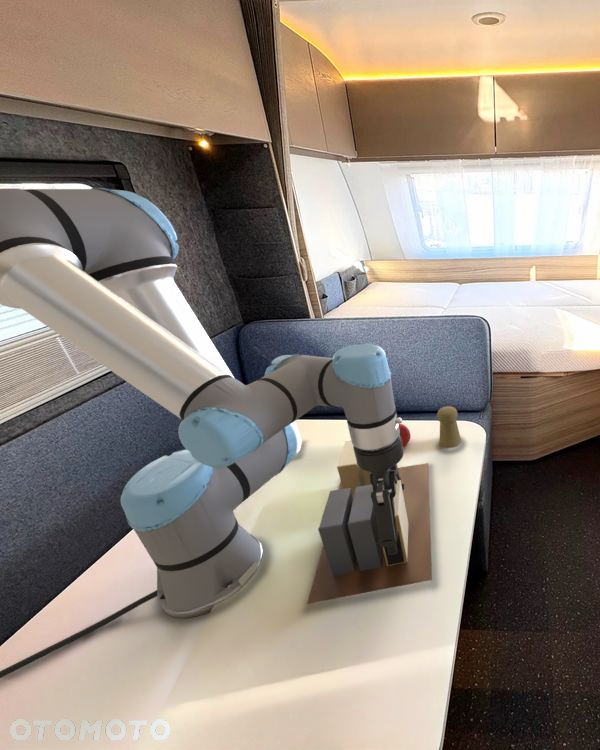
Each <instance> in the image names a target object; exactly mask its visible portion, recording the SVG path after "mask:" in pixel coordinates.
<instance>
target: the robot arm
mask: <svg viewBox="0 0 600 750" xmlns="http://www.w3.org/2000/svg"><path fill="white" fill-rule="evenodd" d="M169 220H170V219H168V218H167V216H166V215H165V214H164V212H162V211H161V210H160V209H159V208H158V207H157V206H156V205H155V204H154V203H153V202H152V201H150V200H148V199H147V198H145V197H143V196H141V195H138V194H137V193H135V192H132V191H128V190H121V189H109V188H105V187H104V188H103V187H91V188H27V189H24V188H0V305H1V306H3V307H7V308H13V309H20V310H22V311H24V312H26V314H29V315H30V316H32V317H33V318H34V319H36V320H37V321H39V322H40V323H42V324H43V325H44V326H45V327H47V328H48V329H50V330H52V331H53V332H54V333H56V334H57V335H58V336H60V337H62V338H63V339H64V340H65V341H68V342H69V343H71V344H72V345H74V346H75V347H76V348H78V349H79V350H81V351H82V352H83V353H85V354H86V355H88V356H89V357H90V358H92V359H94V360H95V361H96V362H98V363H99V364H100V365H102V366H103V367H105V368H107V369H108V370H110V371H111V372H112V373H114V374H115V375H117V376H118V377H119V378H121V379H122V380H124V381H125V382H127V383H128V384H130V386H133V388H135V389H137V390H138V391H140V392H141V393H142V394H144V395H146V396H147V397H148V398H150V399H151V400H152V401H154V402H155V403H157V404H158V405H160V406H161V407H162V408H164V409H166V410H167V411H168V412H170V413H171V414H172V415H174V416H176V417H177V418H179V419H180V420H181V421H180V423H179V426H178V431H177V432H178V439H179V440H180V443H181V445H182V446H183V447H184V449H180V450H177V451H173V453H171V454H170V455H163V456H161V457H159V458H157V459H155V460H153V461H151V462H150V463H148V464H147V465H145V466H143V467H142V468H141V469H140V470H138V471H137V472H136V473H134V475H133V476H132V477H130V479H129V480H128V482H127V483H126V484H125V486H124V488H123V489H122V494H121V496H120V505H121V508H122V510H123V512H124V515H125V517H126V522H127V524H128V526H129V527H130V528H131V529H133V531H134V533H135V534H136V536H137V537H138V539H139V540H140V542H141V544H142V545H143V547H144V549H145V550H146V552H147V553H148V556H149V557H150V558H151V560H152V562H153V563H154V565H155V567H156V590H154V591H153V592H149V593H148V594H147V595H145V596H143V597H141V598H139V599H137V600H136V601H134V602H132V603H130V604H128V605H127V606H125V607H123V608H120V609H119V610H118V611H116V612H114V613H112V614H110V615H109V616H107V617H105V618H103V619H101V620H99V621H98V622H95V623H94V624H92V625H90V626H87V627H86V628H84V629H82V630H80V631H78V632H76V633H74V634H72V635H70V636H68V637H65V638H64V639H62V640H60V641H57V642H56V643H54V644H52V645H50V646H48V647H46V648H44V649H42V650H40V651H38V652H36V653H34V654H32V655H30V656H28V657H26V658H24V659H21V660H19V661H18V662H15V663H14V664H12V665H10V666H8V667H6V668H4V669H1V670H0V679H2V678H4V677H6V676H8V675H10V674H12V673H14V672H16V671H18V670H20V669H22V668H24V667H26V666H28V665H30V664H31V663H33V662H35V661H37V660H39V659H42V658H44V657H45V656H48V655H49V654H52V653H54V652H55V651H57V650H59V649H61V648H63V647H65V646H67V645H69V644H72V643H74V642H75V641H77V640H79V639H81V638H82V637H84V636H87V635H88V634H90V633H93V632H94V631H97V630H98V629H100V628H102V627H104V626H106V625H108V624H110V623H111V622H113V621H115V620H117V619H119V617H122V616H123V615H126V614H127V613H129V612H131V611H133V610H134V609H136V608H137V607H140V606H141V605H143V604H145V603H147V602H149V601H150V600H152V599H154V598H156V597H157V601H158V603H159V604H160V606H161V608H162V610H163V611H164V612H165V613H166V614H167V615H169V616H171V617H174V618H180V619H184V618H186V619H187V618H193V617H198V616H201V615H205V614H207V613H210V612H212V610H213V608H214V607H215V606H216V605H217V604H219V603H220V604H221V603H222V602H223V601H225V600H227V599H228V598H230V597H231V596H233V595H234V594H236V593H237V592H238V591H240V590H241V589H242V588H243V587H244V586H245V585H246V584H247V583H248V582H249V581H250V580H251V579H252V577H253V576H254V575H255V573H256V572H257V571H258V569H259V567H260V566H261V563H262V561H263V556H264V549H263V546H262V543H261V542H260V541H259V539H258V538H257V537H255V536H254V535H253V534H250V533H249V531H247V530H246V529H245V528H244V527H243V526H242V525H240V524H239V522H238V520H237V517H236V515H235V512H234V510H235V509H237V508H238V507H239V506H240V505H241V504H243V503H244V502H245V501H247V499H248V498H251V496H252V495H254V494H255V493H256V492H257V491H258V490H259V489H261V488H263V486H264V485H265V484H267V483H268V482H269V481H271V479H273V478H274V477H275V476H277V475H279V474H280V473H282V472H283V470H284V469H285V468H286V467H287V466H288V465H289V464H290V463H291V462H292V461H293V460H294V458H295V457H296V454H295V453H296V451H297V438H296V434H295V432H294V430H293V428H292V426H291V423H293V422H294V421H295V420H296V421H297V420H298V419H300V418H301V417H303V416H304V415H306V414H307V413H308V412H310V411H311V410H313V409H314V408H315V407H318V406H321V407H332V408H342V409H343V411H344V415H345V418H346V423H347V428H348V433H349V436H350V440H351V441H352V444H353V445H354V446H353V449H354V453H355V457H356V461H357V464H358V466H359V467H360V468H361V469H363V470H365V471H368V472H371V473H372V474H370V482H371V484H372V486H373V492H371V498H372V502H373V506H374V511H375V518H376V524H377V530H378V536H379V537H378V538H377V542H379V545H380V547H384V549H385V553H386V558H387V562H388V565H392V564H397V563H403V562H404V555H403V550H402V545H401V540H400V535H399V532H397V526H396V520H395V507H394V497H395V495H396V488H395V484H396V483H397V481H398V480H401V477H400V475H399V471H398V468H399V467H398V463H400V462H401V460H403V457H404V451H405V450H404V447H403V445H402V439H401V435H400V430H399V424H403V419H402V417H398V414H397V408H396V407H397V406H396V404H395V398H394V390H393V382H392V372H391V369H390V367H389V362H388V358H387V354H386V352H385V350H384V349H383V348H382V347H381V346H379V345H377V344H373V343H361V344H357V343H356V344H351V345H346V346H344V347H341V348H340V349H337V351H335V353H334V354H333V355H332V357H326V356H316V355H308V354H307V355H306V354H298V353H297V354H284V355H280V356H277V357H275V358H274V359H273V360H272V361H271V363H270V365H269V366H268V367H267V368H266V369H265V372H264V376H262V377H261V378H259V379H256V380H254V381H252V382H251V383H249V384H244V383H243V382H241V381H240V380H238V379H236V378H235V376H234V374H233V373H232V371H231V370H230V368H229V367H228V365H227V363H226V362H225V360H224V359H223V357H222V355H221V354H220V352H219V351H218V349H217V348H216V346H215V344H214V343H213V341H212V340H211V338H210V337H209V335H208V333H207V332H206V330H205V328H204V326H203V325H202V324H201V322H200V321H199V319H198V317H197V315H196V314H195V312H194V311H193V309H192V308H191V306H190V304H189V303H188V301H187V299H186V298H185V296H184V295H183V293H182V291H181V290H180V289H179V287H178V285H177V284H176V282H175V279H174V278H175V275H176V272H177V270H178V266H177V263H176V262H175V261H174V259H176V258H177V256H178V253H179V250H180V249H179V248H180V247H179V246H180V245H179V244H178V243H177V242H176V241H178V236H177V233H176V230H175V229H174V226H173V225H172V223H171V222H170V221H169ZM401 485H402V490H404V484H401ZM390 489H391V490H392V492H388V490H390Z"/></svg>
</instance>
